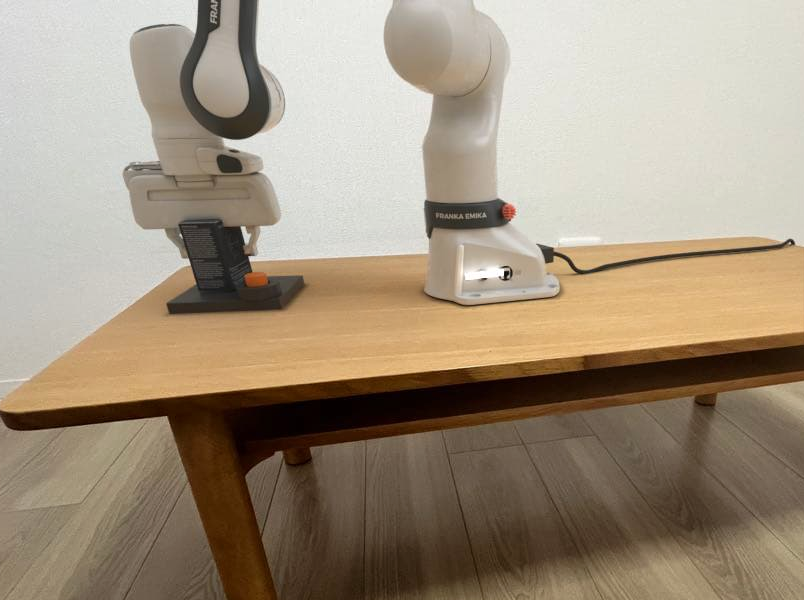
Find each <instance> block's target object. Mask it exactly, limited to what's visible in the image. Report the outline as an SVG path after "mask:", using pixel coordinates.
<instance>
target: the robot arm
mask: <svg viewBox="0 0 804 600" xmlns="http://www.w3.org/2000/svg"><path fill="white" fill-rule="evenodd" d="M391 4H392V5H391V7H390V9H389V11H388V13H387V16H386V18H385V21H384V27H383V47H384V51H385V55H386V58H387V60H388V62H389V64H390V66H391V67H392V69H393V71H394V72H395V73H396V74H397V75H398V77H400V78H401V79H402V80H403V81H404V82H406V83H408V84H409V85H410V86H412V87H414V88H416V89H417V90H419V91H421V92H423V93H425V94H429V95H432V104H431V110H430V111H431V112H430V118H429V123H428V127H427V131H426V133H425V135H424V137H423V140H422V145H421V152H422V153H421V154H422V164H423V175H424V187H425V188H424V189H425V198H426V199H424V202H423V219H424V228H425V234H426V237H427V238H428V256H427V269H426V270H427V271H426V277H425V284H424V288H423V291H424V293H426V294H427V295H428V296H431V297H433V298H435V299H441V300H446V301H452V302H455V303H456V304H460V305H463V306H473V305H484V304H494V303H503V302H504V303H505V302H514V301H523V300H524V301H525V300H533V299H543V298H552V297H555V296H557V295H558V294H559V293H560V290H561V288H560V282H559V281H560V280H559V279H558V278H557V276H555V275H554V274H552V273H551V272H548V271H547V264H552V263H554V259H555V258H554V257H557V258H560V259H563V260H564V261H566V262H567V264H568V265H569V267H570V268H571V270H572V271H573V272H575V273H576V274H580V275H587V274H593V273H598V272H600V271H603V270H606V269H610V268H611V269H612V268H617V267H621V266H629V265H633V264H638V263H644V262H652V261H660V260H667V259H675V258H676V259H677V258H685V257H686V258H687V257H696V256H697V257H698V256H708V255H709V256H710V255H720V254H733V253H745V252H755V251H765V250H775V249H781V248H784V247H786V246H787V245H788V244H789V243H790V244H791V246H795V245H796V242H795V240H794V239H793V238H788V239H786V240H785V241H783V242H782V243H778V244H771V245H770V244H769V245H760V246H749V247H739V248H726V249H725V248H723V249H713V250H704V251H703V250H701V251H689V252H679V253H671V254H663V255H661V254H660V255H653V256H646V257H640V258H633V259H627V260H622V261H618V262H611V263H606V264H602V265H599V266H597V267H594V268H591V269H581V268H578V267H577V266H576V265H575V264H574V262H573V260H572V259H571V258H570V257H569V256H567V254H564V253H561V252H559V251H558V252H557V251H555V248H554V247H553V246H548V245H544V244H540V243H536V242H535V241H533V240H532V239H531V238H529V237H528V236H527V235H526V234H524V233H523V232H522V231H521V230H520V229H518V228H517V227H515V226H514V225H513V224H512V223H511V222H512V219H514V218H515V216H516V215H517V210H516V208H515V206H514V205H513V204H511V203H509V202H507V201H505V200H503V199H502V198H499V195H498V155H497V154H498V153H497V152H498V150H497V149H498V134H499V132H498V131H499V124H500V116H501V111H502V110H501V109H502V104H503V103H502V102H503V95H504V85H505V80H506V78H507V76H508V73H509V71H510V67H511V51H510V50H511V49H510V45H509V42H508V40H507V38H506V36H505V35H504V33H503V30H502V29H501V28H500V27H499V26H498V24H497V22H495V21H494V19H493V18H491V17H490V16H489V15H488V14H486V13H484V12H482V11H480V10H479V9H478V10H477V9H476V7H475V6H476V5H475V3H474V0H392V3H391ZM259 9H260V0H197V19H196V29H195V32H194V31H192V30H191V29H190V28H189V27H188V26H186V25H182V24H179V23H178V24H177V23H167V24H166V23H159V24H153V25H152V24H151V25H148V26H145V27H141V28H139V29H138V30H136V31H135V32H133V34H132V35H131V36H130V39H129V54H130V61H131V62H130V63H131V67H132V71H133V77H134V80H135V84H136V88H137V92H138V95H139V98H140V101H141V104H142V106H143V108H144V109H145V111H146V113H147V115H148V117H149V119H150V126H151V138H152V141H153V144H154V149H155V152H156V154H157V158H158V160H155V161H153V160H151V161H144V162H141V161H131V162H129V164H128V165H127V166H125V167H124V168H123V171H122V178H123V181H124V184H125V187H126V189H127V190H128V194H129V200H130V206H131V211H132V214H133V218H134V221H135V224H137V225H138V226H139V227H140V228H142V230H144V231H145V230H164V232H165V235H166V237H167V239H168V240H169V241H171V242H172V243H173V244H174V246H175V247H177V248H178V250H179V254H180V257H181V258H182V260H184V259H185V260H186V259H189V258H188V255H187V251H186V248H185V245H184V241H183V238H182V235H181V232H180V229H179V226H178V223H179V222H181V221H184V220H198V219H221V220H222V222H223V225H224V227H241V228H242V227H244V228H245V231H246V234H248V235H249V236H250V237H249V240H248V242H245V244H244V245H243V249H244V251H245V252H244V253H245V256H248V257H257V256H258V255H259V251H258V246H257V243H258V240H259V237H260V234H261V232H262V231H261V227H270V226H271V227H272V226H275V225H276V224H278V223H279V222H280V220H281V218H282V211H281V207H280V203H279V200H278V196H277V193H276V190H275V187H274V185H273V183H272V181H271V179H270V178H269V177H268V176H267V175H266V174H264V173H263V172H261V171H263V170H264V161H263V159H262V157H261V156H259V155H257V154H254V153H250V152H247V151H243V150H240V149H237V148H233V147H230V146H226V145H225V139H226V140H231V141H241V140H246V139H249V138H252V137H253V136H256V135H259V134H260V135H261V134H264V133H266V132H269V131H270V130H273V128H275V127H276V126H277V125H279V123H280V122H281V121H282V119H283V116H284V114H285V111H286V97H285V93H284V90H283V88H282V85H281V83H280V82H279V80H278V78H276V76H275V75H274V74H273V73H272V72H271V71H270V70H269V69H268V68H267V67H266V66H264V65H262V64H261V63H260V61H259V57H258V47H257V45H258V28H259V27H258V26H259V13H260V11H259Z"/></svg>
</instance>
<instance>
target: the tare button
mask: <svg viewBox="0 0 804 600" xmlns="http://www.w3.org/2000/svg"><path fill="white" fill-rule="evenodd" d="M252 272H253V271H252ZM244 277H245V281H246V285H247V287H258V286H264V285H267V284H268V279H267V277H268V275H267V273H266V272H264V271H255V272H253V273H248V274H246V275H244Z"/></svg>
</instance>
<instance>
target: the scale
mask: <svg viewBox="0 0 804 600" xmlns="http://www.w3.org/2000/svg"><path fill="white" fill-rule="evenodd" d="M267 279H268V284H267V285H264V286H258V287H247V285H246V281H244V282H241V283H238V284H237V285H236V286H235V287H236V290H234V291H224V292H200V291H198V287H197V284H194V285H193V286H191V287H190V288H188V289H186V290H185V291H183V292H182V293H180V294H179V295H177V296H176V297H174V298H172V299H171V300H169V301H168V302H166V303H165V304H166V308H167V311H168V314H169V315H179V314H181V315H182V314H184V315H185V314H206V313H207V314H208V313H232V312H256V311H258V312H259V311H280V310H283V309H284V308H285V307H286V306H287V305H288V303H289V302H290V301H291V300H293V298H294V297H295V296H296V295H297V294H298V293H299V291H300V290H301V289H302V288H303V287H304V286H305V280H304V275H302V274H301V275H273V276H272V275H271V276H268V275H267Z"/></svg>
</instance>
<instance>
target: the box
mask: <svg viewBox="0 0 804 600" xmlns="http://www.w3.org/2000/svg"><path fill="white" fill-rule="evenodd" d="M178 226H179V229H180V232H181V234H180V236H181V238H182V239H183V241H184V245H185V248H186V251H187V255H188V258H187V259H188V261H189V264H190V268H191V271H192V274H193V278H194V281H195V283H196V284H197V287H198V291H200V292H224V291H234V290H236V287H235V286H236V285H237V284H238V283H241V282H244V281H245V277H244V275H246V274H248V273H253V268H252V264H251V262H250V256H245V253H244V252H245V251H244V249H243V245H244V244H246V242H245V237H244V235H243V230H242V227H224V225H223V222H222V220H221V219H198V220H184V221H181V222H179V223H178ZM196 284H195V285H196Z"/></svg>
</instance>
